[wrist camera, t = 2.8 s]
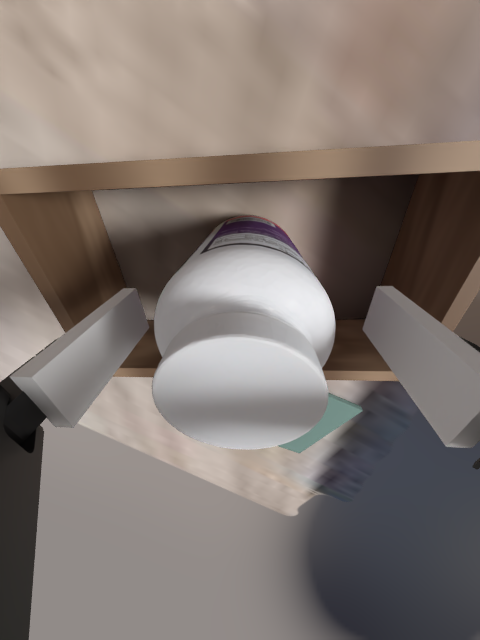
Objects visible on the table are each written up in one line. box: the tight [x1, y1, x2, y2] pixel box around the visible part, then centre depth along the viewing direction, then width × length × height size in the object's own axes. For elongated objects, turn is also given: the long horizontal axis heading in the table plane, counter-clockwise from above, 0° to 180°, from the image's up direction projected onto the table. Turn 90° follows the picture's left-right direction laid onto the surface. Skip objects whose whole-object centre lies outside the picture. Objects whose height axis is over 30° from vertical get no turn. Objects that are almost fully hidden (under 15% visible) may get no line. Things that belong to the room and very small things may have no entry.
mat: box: [278, 393, 363, 453], centre depth 30 cm, size 14×14×1 cm
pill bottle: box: [152, 215, 335, 449], centre depth 13 cm, size 8×8×14 cm
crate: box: [0, 141, 480, 381], centre depth 16 cm, size 26×14×7 cm, turn 92°
